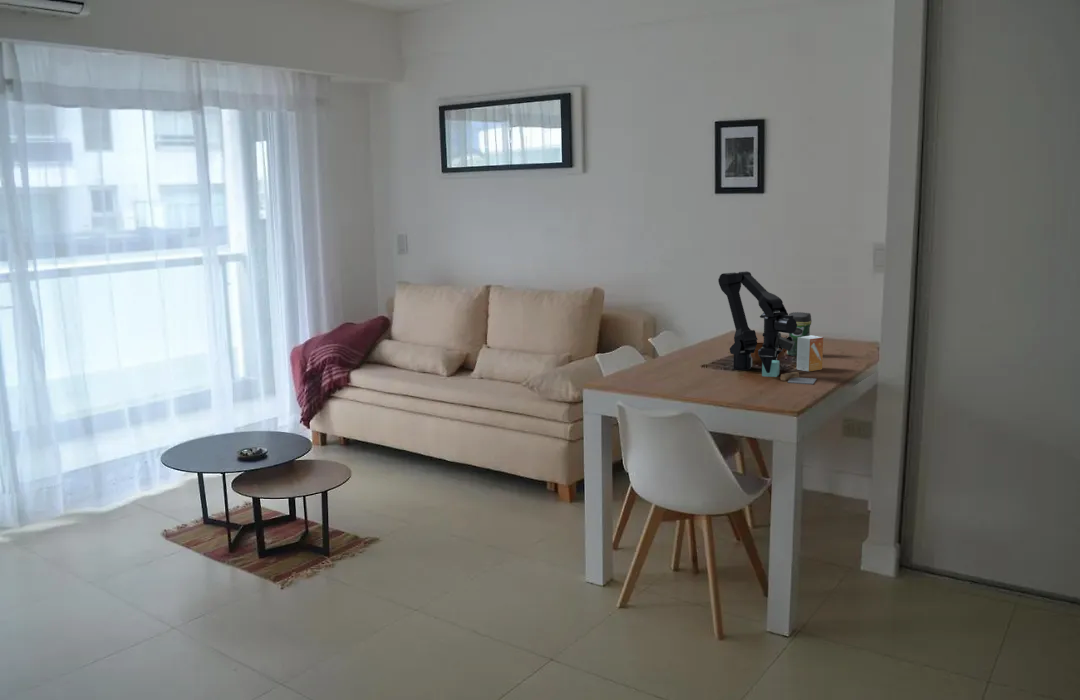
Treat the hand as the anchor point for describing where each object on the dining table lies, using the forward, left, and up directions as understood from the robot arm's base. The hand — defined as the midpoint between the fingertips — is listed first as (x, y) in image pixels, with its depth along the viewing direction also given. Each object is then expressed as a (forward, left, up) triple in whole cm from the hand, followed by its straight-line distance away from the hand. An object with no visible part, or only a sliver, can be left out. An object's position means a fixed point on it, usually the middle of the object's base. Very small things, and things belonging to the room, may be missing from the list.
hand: (770, 370), depth 344 cm
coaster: (+13, -7, -2) cm, 15 cm away
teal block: (0, 0, -2) cm, 2 cm away
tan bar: (+8, -5, -2) cm, 9 cm away
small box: (+12, +16, -2) cm, 20 cm away
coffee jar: (+3, +46, -2) cm, 46 cm away
